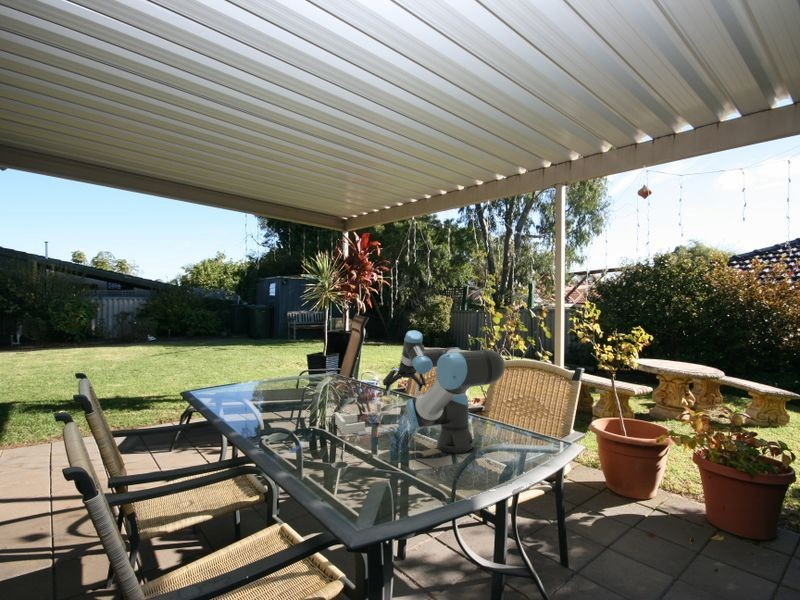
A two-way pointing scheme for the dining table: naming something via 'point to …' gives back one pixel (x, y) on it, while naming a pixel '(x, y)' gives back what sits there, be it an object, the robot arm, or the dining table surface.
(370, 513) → the dining table surface
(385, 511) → the dining table surface
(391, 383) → the robot arm
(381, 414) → the pipe connector
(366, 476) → the dining table surface
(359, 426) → the dock
